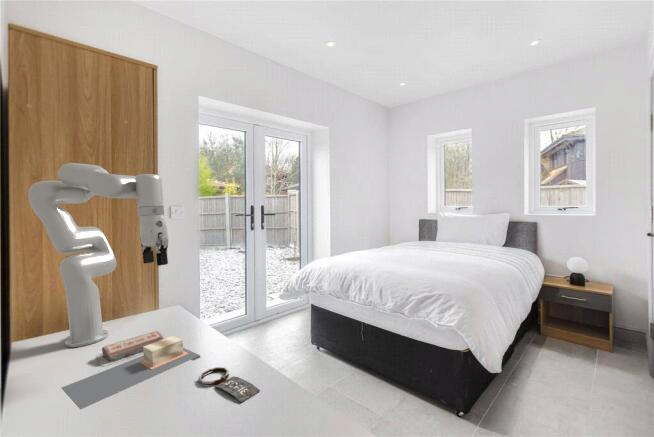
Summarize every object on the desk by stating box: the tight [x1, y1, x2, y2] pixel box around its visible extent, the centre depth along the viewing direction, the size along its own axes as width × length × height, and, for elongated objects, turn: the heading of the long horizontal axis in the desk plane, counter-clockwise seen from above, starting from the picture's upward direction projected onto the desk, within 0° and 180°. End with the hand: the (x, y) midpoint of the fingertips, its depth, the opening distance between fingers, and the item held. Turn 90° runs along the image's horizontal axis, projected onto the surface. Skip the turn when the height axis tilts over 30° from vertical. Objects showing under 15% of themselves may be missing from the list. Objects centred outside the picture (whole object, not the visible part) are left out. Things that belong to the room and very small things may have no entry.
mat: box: [61, 347, 201, 410], centre depth 90 cm, size 16×30×1 cm, turn 143°
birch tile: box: [143, 335, 184, 367], centre depth 96 cm, size 9×6×4 cm, turn 142°
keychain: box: [198, 366, 261, 404], centre depth 81 cm, size 8×19×2 cm, turn 51°
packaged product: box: [96, 330, 165, 368], centre depth 102 cm, size 18×5×10 cm
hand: (155, 263), depth 104 cm, fingers open, 9 cm apart
